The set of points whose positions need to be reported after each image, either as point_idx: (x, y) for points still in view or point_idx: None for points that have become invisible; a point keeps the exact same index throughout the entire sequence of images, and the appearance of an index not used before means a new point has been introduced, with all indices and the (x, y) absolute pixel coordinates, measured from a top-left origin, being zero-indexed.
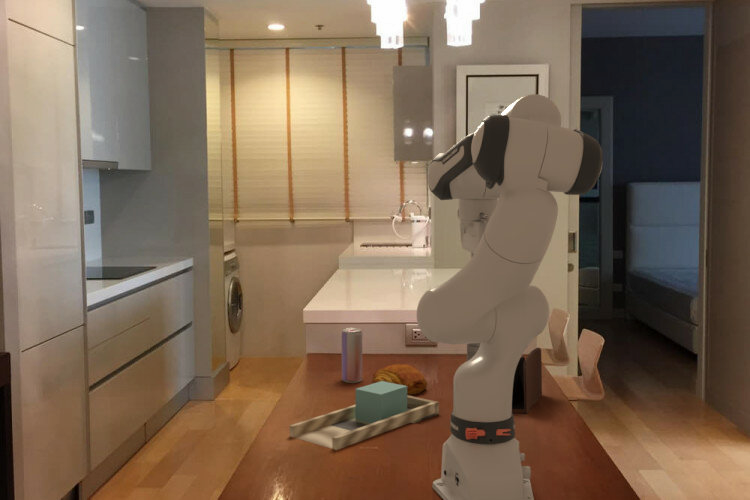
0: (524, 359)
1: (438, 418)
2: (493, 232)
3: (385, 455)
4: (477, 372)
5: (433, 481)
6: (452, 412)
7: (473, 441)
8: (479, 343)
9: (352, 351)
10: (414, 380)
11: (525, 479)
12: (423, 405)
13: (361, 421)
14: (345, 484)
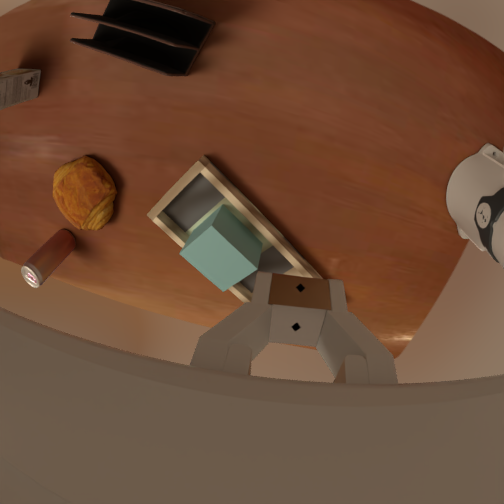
0: (74, 13)
1: (225, 159)
2: None
3: (364, 256)
4: None
5: (462, 237)
6: (498, 261)
7: None
8: (2, 90)
9: (53, 263)
10: (99, 181)
11: (491, 149)
12: (216, 187)
13: None
14: (420, 299)
